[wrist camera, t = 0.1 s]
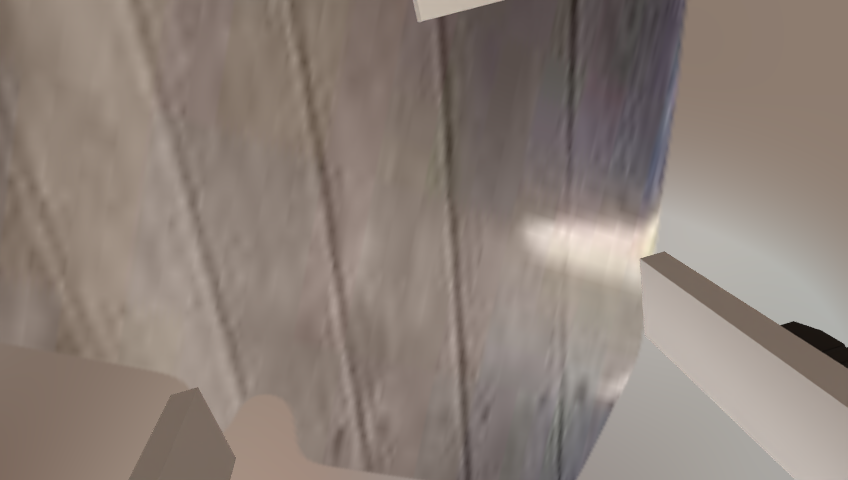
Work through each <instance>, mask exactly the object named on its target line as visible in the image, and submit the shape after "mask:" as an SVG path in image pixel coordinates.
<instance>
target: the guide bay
mask: <svg viewBox="0 0 848 480" xmlns="http://www.w3.org/2000/svg"><path fill="white" fill-rule="evenodd" d="M499 1H503V0H413V3H414V8H415V12H416V17H417V21H418V22H422V21H426V20H430V19H434V18H437V17H441V16H445V15H449V14H453V13H457V12H461V11H464V10H468V9H472V8H476V7H480V6H484V5H488V4H491V3H495V2H499Z"/></svg>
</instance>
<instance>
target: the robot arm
mask: <svg viewBox="0 0 848 480" xmlns="http://www.w3.org/2000/svg"><path fill="white" fill-rule="evenodd" d="M640 269H641V284H642V299H643V314H644V329H645V336H646V337H647V338H648V339H649V340H650V341H651V342H652V343H653V344H654V345H655V346H657V348H659V349H660V350H661V351H662V352H663V353H664V354H665V355H666V356H667V357H668V358H669V359H670V360H671V361H672V362H673V363H674V364H675V365H676V366H677V367H678V368H679V369H680V370H681V371H682V372H684V373H685V374H686V375H687V376H688V377H689V378H690V379H691V380H692V381H693V382H694V383H695V384H696V385H697V386H698V387H699V388H700V389H701V390H702V391H703V392H704V393H705V394H706V395H708V396H709V397H710V398H711V399H712V400H713V401H714V402H715V403H716V404H717V405H718V406H719V407H720V408H721V409H722V410H723V411H724V412H725V413H726V414H727V415H728V416H729V417H730V418H732V419H733V420H734V421H735V422H736V423H737V424H738V425H739V426H740V427H741V428H742V429H743V430H744V431H745V432H746V433H747V434H748V435H749V436H750V437H751V438H752V439H753V440H754V441H755V442H756V443H758V444H759V445H760V446H761V447H762V448H763V449H764V450H765V451H766V452H767V453H768V454H769V455H770V456H771V457H772V458H773V459H774V460H775V461H776V462H777V463H779V465H780V466H781V467H783V468H784V469H785V470H786V471H787V472H788V473H789V474H790V475H791V476H792V477H793V478H794V479H795V480H848V347H847V348H846V347H845V345H844V344H843V343H842V342H840V341H838V340H837V339H835V338H833V337H831V336H830V335H828V334H826V333H825V332H823V331H821V330H818V329H815V328H812V327H809V326H806V325H803V324H800V323H797V322H794V321H793V322H790V323H787V324H783V325H779V324H777V323H775V322H774V321H772V320H771V319H769V318H767V317H766V316H765V315H763V314H761V313H760V312H758V311H757V310H755V309H754V308H752V307H750V306H749V305H747V304H746V303H744V302H743V301H741V300H739V299H738V298H736V297H735V296H733V295H732V294H730V293H729V292H727V291H725V290H724V289H722V288H720V287H719V286H718V285H716V284H714V283H713V282H711V281H710V280H708V279H707V278H705V277H703V276H702V275H700V274H699V273H697V272H696V271H694V270H692V269H691V268H689V267H688V266H686V265H685V264H683V263H682V262H680V261H678V260H677V259H675V258H674V257H672V256H671V255H669V254H667V253H666V252H661V253H658V254H654V255H651V256H647V257H644V258H640ZM235 459H236V457H235V455H234V454H233V452H232V450H231V448H230V446H229V444H228V443H227V440H226V439H225V437H224V435H223V433H222V431H221V429H220V427H219V426H218V424H217V422H216V420H215V418H214V416H213V414H212V413H211V411H210V409H209V407H208V405H207V403H206V401H205V400H204V398H203V396H202V394H201V392H200V390H199V388H194V389H191V390H187V391H184V392H180V393H177V394H173V395H171V396H170V398H169V400H168V402H167V404H166V406H165V408H164V410H163V412H162V414H161V416H160V418H159V420H158V422H157V424H156V426H155V428H154V430H153V432H152V434H151V436H150V438H149V440H148V442H147V444H146V446H145V448H144V450H143V452H142V454H141V456H140V458H139V460H138V462H137V464H136V466H135V468H134V470H133V472H132V474H131V476H130V478H129V480H230V478H231V474H232V470H233V467H234V463H235Z"/></svg>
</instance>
